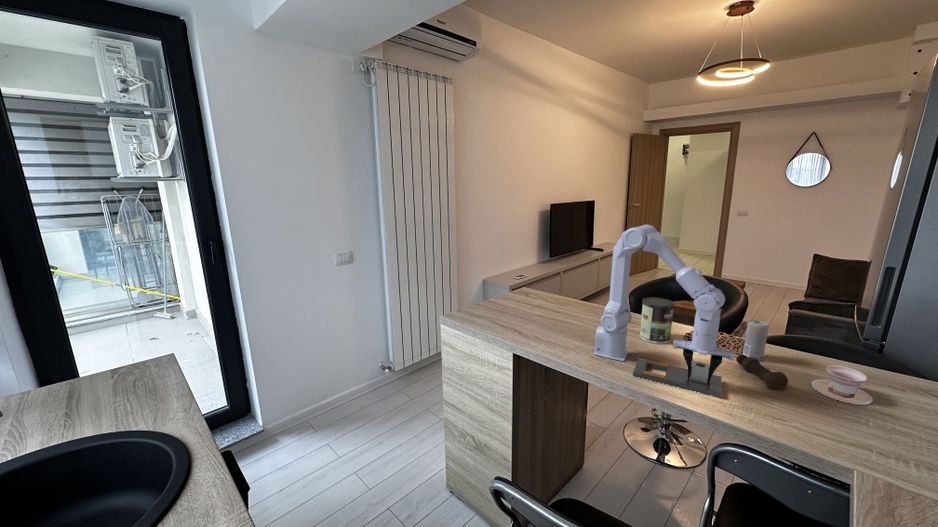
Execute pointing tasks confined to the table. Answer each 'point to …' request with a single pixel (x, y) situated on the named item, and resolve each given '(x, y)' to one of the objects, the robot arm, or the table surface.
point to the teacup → (844, 382)
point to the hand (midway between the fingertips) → (699, 376)
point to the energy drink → (755, 339)
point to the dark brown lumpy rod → (763, 373)
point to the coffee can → (656, 320)
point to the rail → (677, 377)
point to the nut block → (699, 373)
